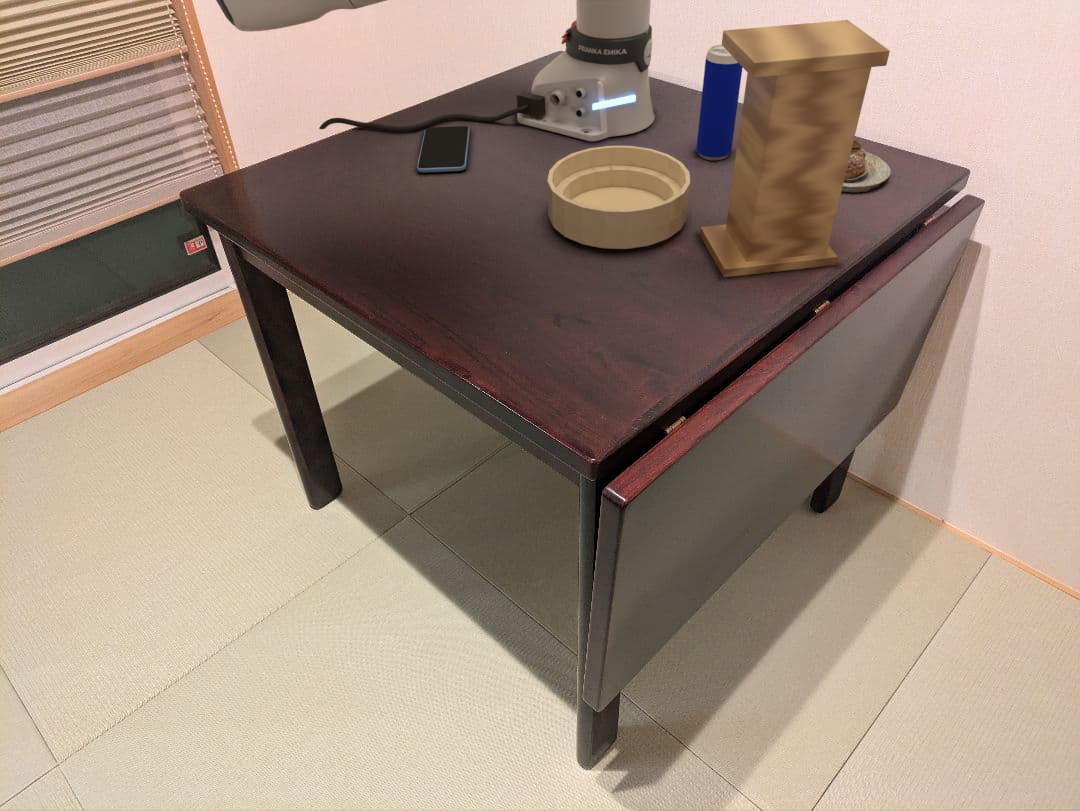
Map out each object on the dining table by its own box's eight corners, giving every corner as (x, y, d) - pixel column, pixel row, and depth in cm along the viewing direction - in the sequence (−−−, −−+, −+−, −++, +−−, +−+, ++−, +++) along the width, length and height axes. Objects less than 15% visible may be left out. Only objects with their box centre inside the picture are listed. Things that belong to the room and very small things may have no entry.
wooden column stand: (723, 277, 95) (754, 62, 78) (699, 235, 102) (722, 30, 85) (835, 265, 96) (890, 50, 79) (804, 224, 103) (847, 19, 86)
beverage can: (734, 149, 120) (748, 46, 110) (725, 163, 116) (739, 58, 106) (701, 144, 121) (712, 42, 111) (691, 158, 118) (702, 54, 108)
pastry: (784, 176, 113) (790, 145, 110) (827, 147, 119) (834, 117, 116) (862, 202, 106) (871, 170, 103) (903, 171, 113) (912, 140, 110)
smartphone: (469, 124, 128) (465, 166, 117) (470, 130, 128) (466, 171, 117) (424, 126, 128) (415, 168, 117) (424, 131, 128) (416, 173, 117)
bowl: (527, 238, 103) (524, 196, 99) (579, 177, 115) (579, 137, 111) (661, 265, 97) (665, 222, 93) (702, 198, 109) (706, 157, 105)
